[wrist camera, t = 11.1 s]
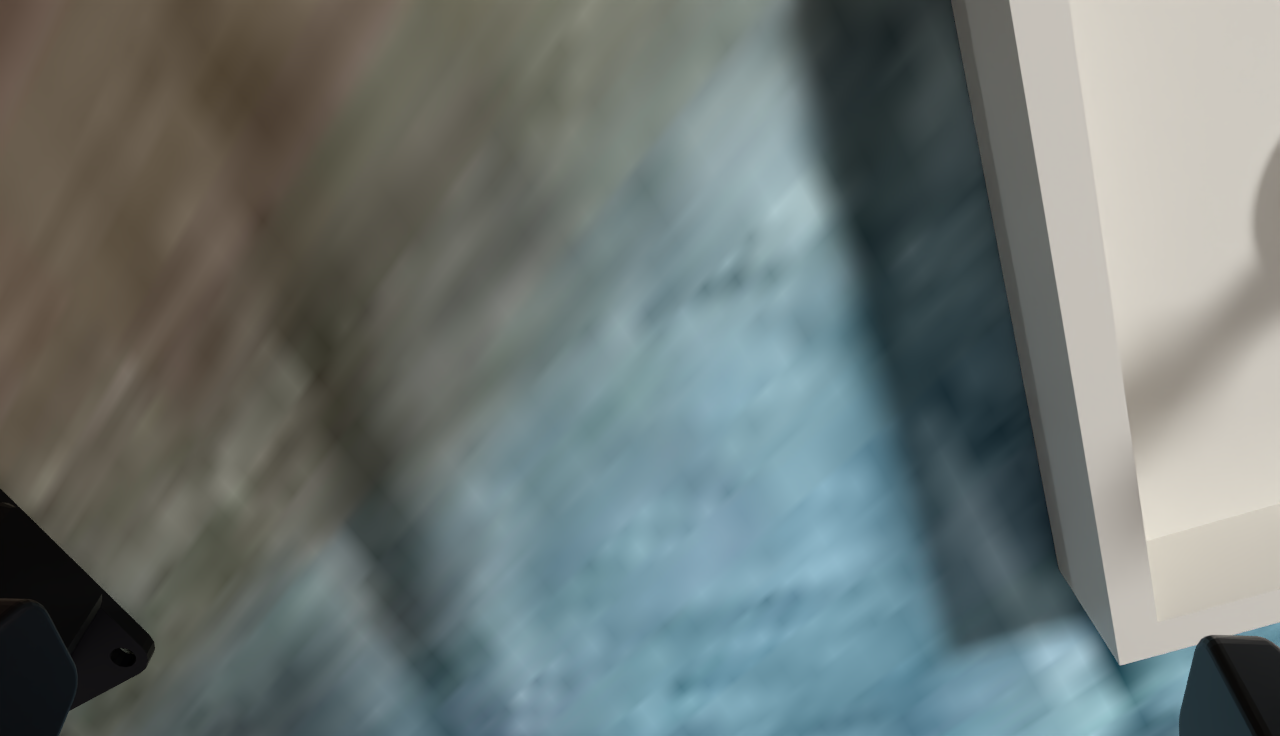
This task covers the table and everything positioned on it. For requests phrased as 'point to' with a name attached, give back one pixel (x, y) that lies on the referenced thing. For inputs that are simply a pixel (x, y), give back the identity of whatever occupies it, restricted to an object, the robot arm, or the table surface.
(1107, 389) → the tray
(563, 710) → the table surface
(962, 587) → the table surface
